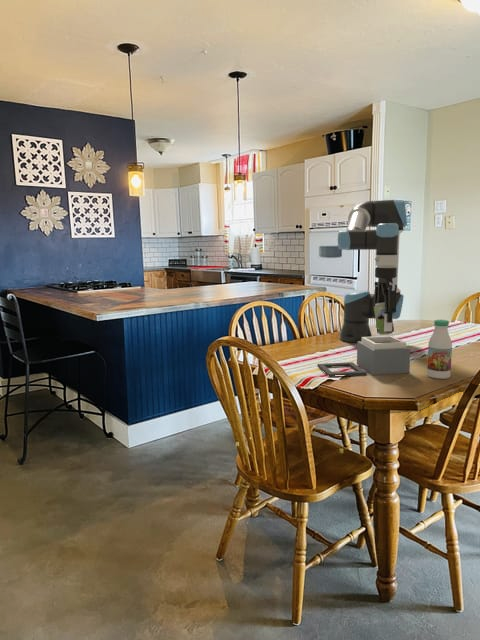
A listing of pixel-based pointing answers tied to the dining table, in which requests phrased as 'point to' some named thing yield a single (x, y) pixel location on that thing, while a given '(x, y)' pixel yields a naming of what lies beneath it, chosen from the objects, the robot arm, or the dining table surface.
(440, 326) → the milk bottle
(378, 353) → the tray
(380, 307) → the beverage can
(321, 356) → the dining table surface
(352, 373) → the gray square frame
